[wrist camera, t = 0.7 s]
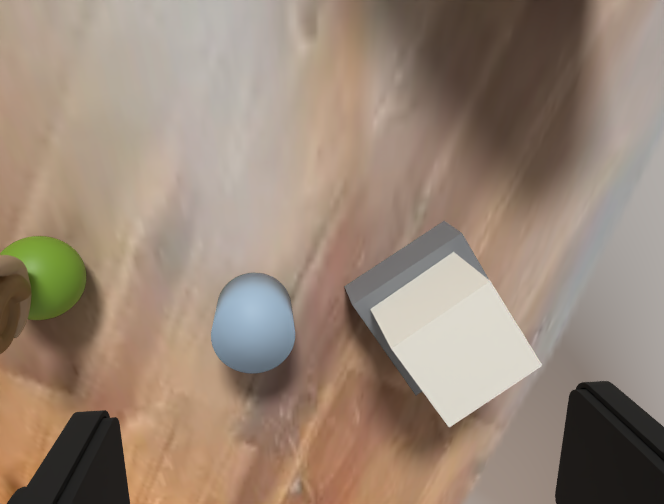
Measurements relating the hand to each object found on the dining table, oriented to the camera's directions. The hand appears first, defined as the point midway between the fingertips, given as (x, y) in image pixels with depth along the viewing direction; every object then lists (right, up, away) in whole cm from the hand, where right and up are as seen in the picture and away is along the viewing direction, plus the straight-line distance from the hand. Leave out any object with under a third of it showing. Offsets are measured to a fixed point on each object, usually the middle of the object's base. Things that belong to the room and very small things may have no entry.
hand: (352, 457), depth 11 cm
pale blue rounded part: (-6, 0, +29) cm, 29 cm away
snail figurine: (-20, +4, +26) cm, 33 cm away
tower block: (+7, 0, +27) cm, 28 cm away
